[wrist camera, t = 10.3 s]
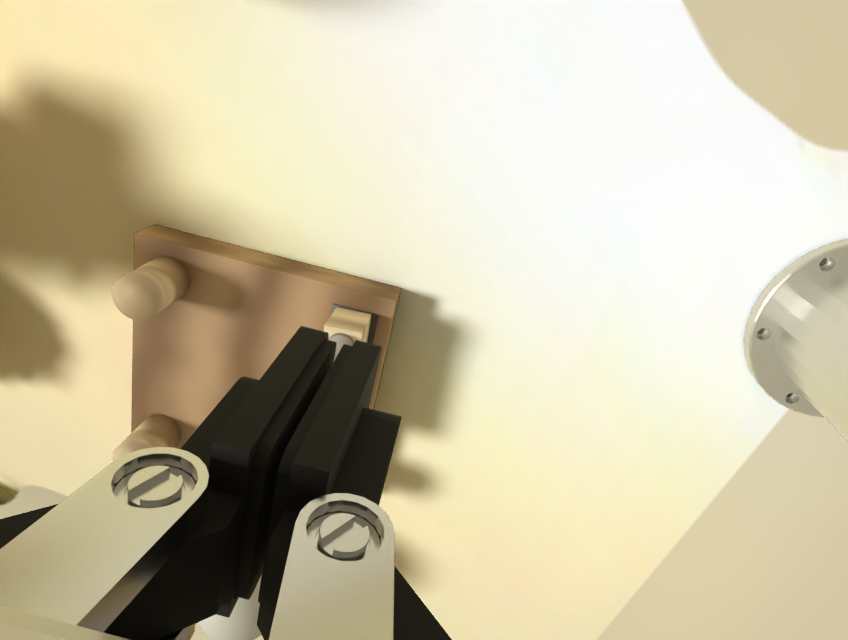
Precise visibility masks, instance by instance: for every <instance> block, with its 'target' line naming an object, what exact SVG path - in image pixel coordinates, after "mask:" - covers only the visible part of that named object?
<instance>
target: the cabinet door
mask: <svg viewBox="0 0 848 640" xmlns="http://www.w3.org/2000/svg"><path fill="white" fill-rule="evenodd" d="M370 321H371V314H368V313H363V312H358V311H353V310H348V309H343V308H338V307H336V309H335V310H334V312H333V313H332V315H331V316H330V317H329V319H328V320H327V322H326V323H325V325H324V332H328V334H329V339H328V340H331V341H335V342H336V343H337V345H336V352H335V357H334V361H335V359H336V357H337V355H338V353H339V352H340V350H341V348H342V346H343V345H344V344H346V345H350V346H353V344H354V342H355V341H356V340H359V341H362V342H366V343H367V342H368V335H369V328H370Z"/></svg>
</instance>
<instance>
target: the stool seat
mask: <svg viewBox="0 0 848 640" xmlns="http://www.w3.org/2000/svg"><path fill="white" fill-rule="evenodd" d="M400 292H401V288H399V287H395V286H391V285H387V284H383V283H379V282H375V281H371V280H368V279H364V278H360V277H356V276H352V275H348V274H344V273H340V272H337V271H333V270H329V269H325V268H321V267H317V266H313V265H309V264H306V263H302V262H298V261H294V260H290V259H286V258H282V257H278V256H274V255H271V254H267V253H263V252H259V251H255V250H251V249H247V248H243V247H240V246H236V245H232V244H228V243H224V242H220V241H216V240H212V239H209V238H205V237H201V236H197V235H193V234H189V233H185V232H181V231H178V230H174V229H170V228H166V227H162V226H158V225H153V226H151V227H148V228H146V229H144V230H141V231H139V232H137V233H135V234H134V270H133V271H131V272H129V273H128V274H126V275H124V276H122V277H120V278H118V279H117V280H116V281H115V283H114V284H113V287H112V298H113V301H114V303H115V305H116V307H117V308H118V309H119V310H120V311H121V312H122V313H123V314H124V315H125V316H127V317H129V318H131V319H133V359H132V429H131V434H130V435H129V436H128V437H127V438H126V439H125V440H124V441H123V442H122V443H121V444H120V445H119V446H118V447H117V448H116V449H115V450H114V452H113V455H112V459H113V462H114V461H116V460H117V459H119V458H121V457H122V456H124V455H126V454H129V453H132V452H135V451H137V450H140V449H146V448H153V447H172V448H177V449H180V448H181V447H182V446H183V445H184V444H185V443H186V441H187V440H188V439H189V438H190V437H191V435H192V434H193V433H194V432H195V431H196V429H197V428H198V427H199V426H200V425H201V423H202V422H203V421H204V420H205V419H206V417H207V416H208V415H209V414H210V413H211V412H212V410H213V409H214V408H215V407H216V406H217V404H218V403H219V402H220V401H221V400H222V398H223V397H224V396H225V395H226V394H227V392H228V391H229V390H230V389H231V388H232V386H233V385H234V384H235V383H236V382H237V381H238V380H239V379H240V378H241V377H243V376H246V377H250V378H254V379H257V380H260V378H261V377H262V376H263V375H264V373H265V372H266V371H267V369H268V368H269V367H270V365H271V364H272V363H273V362H274V360H275V359H276V358H277V356H278V355H279V354H280V352H281V351H282V350H283V349H284V347H285V346H286V345H287V343H288V342H289V341H290V339H291V338H292V337H293V336H294V334H295V333H296V332H297V330H298V329H299V328H300V327H301V326H304V327H308V328H312V329H316V330H320V331H324V325H325V323H326V322H327V320H328V319H329V317H330V316H331V315H332V313H333V312H334V310H335V309H336V307H338V308H343V309H348V310H353V311H358V312H363V313H368V314H371V321H370V328H369V335H368V342H367V343H370V344H374V345H378V346H382V351H381V356H380V361H379V365H378V369H377V374H376V378H375V383H374V387H373V392H372V396H371V401H370V405H369V409H373V410H374V405H375V401H376V397H377V392H378V388H379V384H380V379H381V375H382V371H383V366H384V362H385V358H386V353H387V349H388V344H389V340H390V336H391V331H392V327H393V323H394V318H395V314H396V310H397V305H398V301H399V297H400Z"/></svg>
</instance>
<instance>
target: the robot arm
mask: <svg viewBox="0 0 848 640" xmlns="http://www.w3.org/2000/svg"><path fill="white" fill-rule="evenodd" d="M822 260H823V261H822ZM821 261H822V262H821ZM820 262H821V263H820ZM760 329H761V330H760ZM759 330H760V331H759ZM328 339H329V334H328V332H324V331H320V330H316V329H312V328H308V327H304V326H301V327H300V328H299V329H298V330H297V332H296V333H295V334H294V336H293V337H292V338H291V339H290V341H289V342H288V343H287V345H286V346H285V347H284V349H283V350H282V351H281V352H280V354H279V355H278V356H277V358H276V359H275V360H274V362H273V363H272V364H271V365H270V367H269V368H268V369H267V371H266V372H265V373H264V375H263V376H262V377H261V378H260V380H257V379H254V378H250V377H246V376H243V377H241V378H240V379H239V380H238V381H237V382H236V383H235V384H234V385H233V386H232V388H231V389H230V390H229V391H228V392H227V394H226V395H225V396H224V397H223V398H222V400H221V401H220V402H219V403H218V404H217V406H216V407H215V408H214V409H213V410H212V412H211V413H210V414H209V415H208V416H207V417H206V419H205V420H204V421H203V422H202V423H201V425H200V426H199V427H198V428H197V429H196V431H195V432H194V433H193V434H192V435H191V437H190V438H189V439H188V440H187V441H186V443H185V444H184V445H183V446H182V447H181V448H180V449H177V448H172V447H153V448H146V449H140V450H137V451H135V452H132V453H129V454H126V455H124V456H122V457H121V458H119V459H117V460H116V461H114V462H112V463H111V464H110V465H109V466H107V467H106V468H105V469H103V470H102V471H101V472H100V473H98V474H97V475H96V476H94V477H93V478H92V479H90V480H89V481H88V482H87V483H85V484H84V485H83V486H81V487H80V488H79V489H78V490H76V491H75V492H74V493H72V494H71V495H70V496H68V497H67V498H66V499H65V500H63V501H62V502H61V503H59V504H57V505H53V506H49V507H45V508H41V509H38V510H34V511H30V512H27V513H22V514H19V515H15V516H12V517H7V518H4V519H0V640H190V639H191V637H192V635H193V633H194V631H195V625H196V623H197V622H200V621H202V620H204V619H207V618H209V617H211V616H213V615H220V616H224V617H228V618H229V617H230V615H231V613H232V611H233V609H234V607H235V605H236V602H237V600H238V598H243V599H247V600H249V599H250V597H251V596H252V594H253V592H254V590H255V588H256V585H257V583H258V581H259V579H260V577H261V575H262V577H261V583H260V590H259V596H258V603H260V606H259V612H258V619H257V626H258V628H259V630H260V632H261V634H262V636H263V638H264V640H451V638H450V637H449V636H448V634H447V633H446V632H445V630H444V629H443V628H442V627H441V625H440V624H439V623H438V621H437V620H436V619H435V618H434V616H433V615H432V614H431V612H430V611H429V610H428V608H427V607H426V606H425V605H424V603H423V602H422V601H421V599H420V598H419V597H418V596H417V594H416V593H415V592H414V590H413V589H412V588H411V586H410V585H409V584H408V583H407V581H406V580H405V579H404V577H403V576H402V575H401V574H400V572H399V571H398V570H397V568H396V567H395V566H394V550H395V535H394V529H393V524H392V522H391V520H390V519H389V517H388V515H387V514H386V512H384V511H383V510H382V509H381V508H380V507H379V502H380V498H381V495H382V491H383V487H384V483H385V479H386V476H387V472H388V468H389V464H390V460H391V456H392V452H393V448H394V445H395V441H396V437H397V433H398V429H399V425H400V421H401V417H400V416H396V415H392V414H388V413H384V412H381V411H377V410H373V409H369V405H370V401H371V396H372V392H373V387H374V383H375V378H376V374H377V369H378V365H379V361H380V356H381V351H382V346H378V345H374V344H370V343H366V342H362V341H359V340H356V341H355V342H354V344H353V346H350V345H346V344H344V345H343V346H342V348H341V350H340V352H339V353H338V355H337V357H336V359H335V361H334V357H335V352H336V345H337V343H336V342H335V341H331V340H328ZM744 350H745V358H746V361H747V364H748V367H749V370H750V372H751V373H752V375H753V376H754V378H755V380H756V381H757V383H758V384H759V385H760V386H761V387H762V388H763V389H764V391H765V392H766V393H767V394H768V395H769V396H771V397H772V398H773V399H774V400H776V401H777V402H778V403H779V404H781V405H783V406H785V407H787V408H789V409H791V410H793V411H796V412H799V413H803V414H807V415H810V416H817V417H825V418H826V419H827V420H828V421H829V422H830V423H831V424H832V425H833V426H834V427H835V429H837V431H839V433H840V434H842V436H843V437H844V438H845V439H846V440H847V441H848V239H845V240H841V241H837V242H833V243H830V244H828V245H825V246H823V247H820V248H818V249H816V250H813V251H811V252H809V253H807V254H806V255H804V256H802V257H801V258H799V259H797V260H796V261H794V262H793V263H791V264H790V265H789V266H787V267H786V268H785V269H784V270H783V271H781V272H780V273H779V274H778V275H777V276H775V278H774V279H773V280H772V281H771V282H770V283H769V284H768V286H767V287H766V288H765V289H764V290H763V291H762V293H761V295H760V296H759V298H758V299H757V301H756V303H755V304H754V306H753V308H752V310H751V313H750V316H749V318H748V321H747V324H746V329H745V336H744Z"/></svg>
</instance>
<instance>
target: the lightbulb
mask: <svg viewBox="0 0 848 640" xmlns="http://www.w3.org/2000/svg"><path fill="white" fill-rule="evenodd" d="M261 577H262V575H261ZM261 577H260V579H259V581H258V583H257V585H256V588H255V590H254V592H253V594H252V596H251V597H250V599H249V600H247V599H243V598H238V600H237V602H236V605H235V607H234V609H233V611H232V613H231V615H230V617H229V618H228V617H224V616H220V615H213V616H211V617H209V618H207V619H204V620H202V621H200V622H198V623H199V625H200V628H201V629H202V631H203V632H204V633H205V634H206V635H207V636H208V637H209V638H210V639H212V640H254V639H255V638H257V637H259V636H260V635H262V634H261V632H260V630H259V628H258V626H257V619H258V612H259V606H260V603H258V596H259V590H260V583H261Z"/></svg>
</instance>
